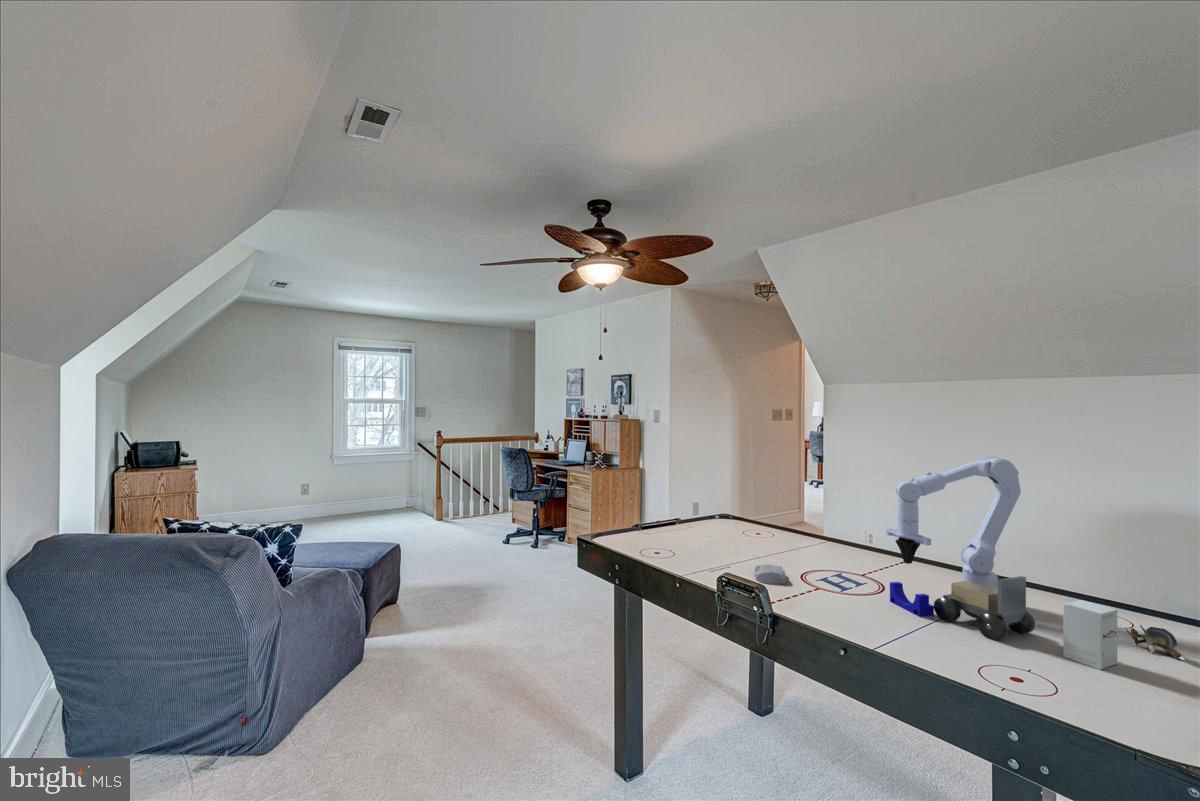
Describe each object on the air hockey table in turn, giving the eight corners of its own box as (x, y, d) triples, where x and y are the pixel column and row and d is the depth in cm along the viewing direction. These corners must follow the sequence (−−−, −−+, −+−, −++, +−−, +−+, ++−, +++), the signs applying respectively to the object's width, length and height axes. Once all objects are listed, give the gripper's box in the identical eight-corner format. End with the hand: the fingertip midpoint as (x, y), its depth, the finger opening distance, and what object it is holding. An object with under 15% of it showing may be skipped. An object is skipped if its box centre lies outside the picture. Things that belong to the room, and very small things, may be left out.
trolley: (966, 611, 154) (966, 558, 154) (1035, 636, 137) (1035, 577, 137) (933, 616, 150) (933, 562, 150) (1000, 643, 133) (1000, 582, 133)
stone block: (757, 588, 177) (788, 584, 176) (754, 574, 178) (785, 570, 176) (754, 579, 189) (783, 575, 187) (751, 565, 189) (780, 561, 188)
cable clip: (933, 616, 150) (933, 595, 150) (919, 617, 149) (919, 596, 149) (903, 601, 162) (903, 581, 162) (889, 602, 161) (889, 582, 161)
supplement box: (1101, 670, 119) (1101, 613, 119) (1062, 656, 126) (1061, 602, 126) (1119, 664, 122) (1118, 609, 122) (1079, 651, 129) (1079, 598, 129)
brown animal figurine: (1125, 645, 130) (1177, 653, 122) (1124, 616, 133) (1175, 622, 125) (1139, 657, 132) (1191, 666, 125) (1138, 629, 135) (1189, 635, 128)
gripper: (879, 516, 175) (879, 557, 175) (919, 525, 161) (919, 570, 161) (895, 514, 177) (895, 556, 177) (936, 524, 164) (936, 568, 163)
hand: (907, 562), depth 169 cm, fingers closed
